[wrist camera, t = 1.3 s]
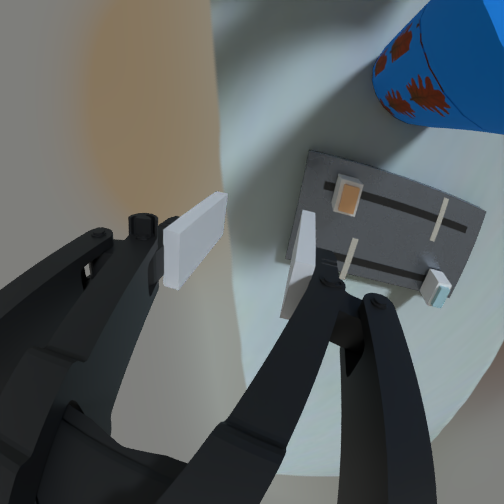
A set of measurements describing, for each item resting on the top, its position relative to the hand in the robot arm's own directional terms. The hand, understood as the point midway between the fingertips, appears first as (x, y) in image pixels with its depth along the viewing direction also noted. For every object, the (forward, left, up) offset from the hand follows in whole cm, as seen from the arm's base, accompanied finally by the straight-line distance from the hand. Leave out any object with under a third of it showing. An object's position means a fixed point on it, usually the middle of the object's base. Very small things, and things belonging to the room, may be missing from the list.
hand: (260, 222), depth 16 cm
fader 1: (0, +7, -17) cm, 18 cm away
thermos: (-15, +13, -19) cm, 28 cm away
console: (+4, +15, -19) cm, 24 cm away
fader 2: (+9, +23, -17) cm, 30 cm away
